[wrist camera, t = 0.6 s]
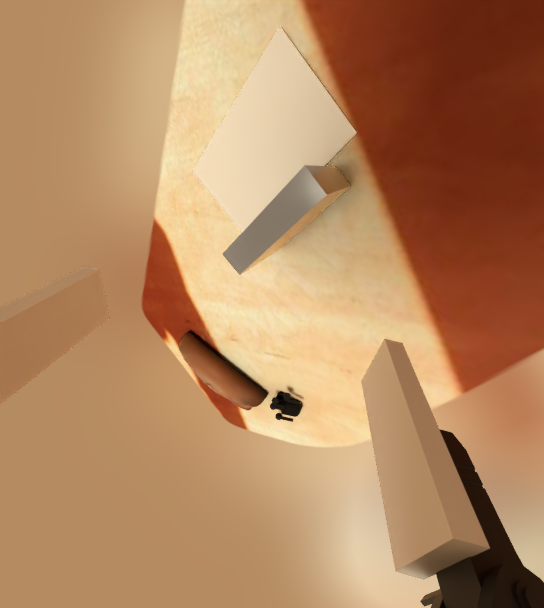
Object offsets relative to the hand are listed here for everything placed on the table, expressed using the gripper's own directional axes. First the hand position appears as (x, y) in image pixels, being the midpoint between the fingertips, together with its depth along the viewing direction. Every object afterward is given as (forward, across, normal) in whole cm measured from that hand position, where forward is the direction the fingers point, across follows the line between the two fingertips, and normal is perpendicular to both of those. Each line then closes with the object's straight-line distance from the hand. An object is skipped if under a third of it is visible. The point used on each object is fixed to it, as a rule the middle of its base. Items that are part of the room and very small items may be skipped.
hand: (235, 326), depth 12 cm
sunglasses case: (+23, -6, -30) cm, 38 cm away
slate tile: (+20, +2, +2) cm, 20 cm away
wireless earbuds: (+19, +7, -28) cm, 35 cm away
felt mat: (+22, -4, +6) cm, 23 cm away
